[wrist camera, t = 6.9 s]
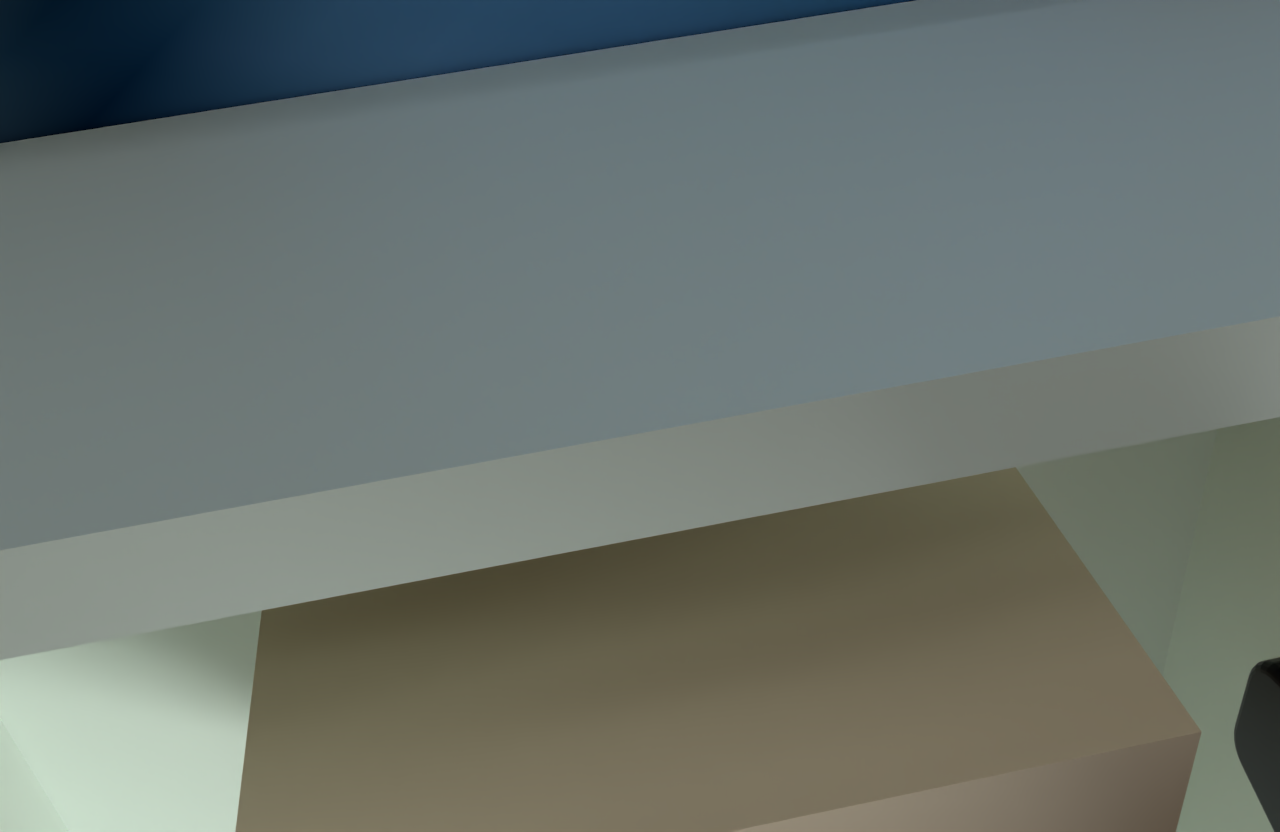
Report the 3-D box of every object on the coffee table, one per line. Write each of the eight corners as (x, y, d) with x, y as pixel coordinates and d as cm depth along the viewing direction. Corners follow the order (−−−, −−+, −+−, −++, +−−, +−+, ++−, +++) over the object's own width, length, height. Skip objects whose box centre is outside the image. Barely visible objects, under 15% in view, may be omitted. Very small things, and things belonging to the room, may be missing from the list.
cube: (873, 678, 13) (1089, 1166, 9) (415, 771, 13) (430, 1324, 9) (881, 275, 10) (1201, 730, 6) (288, 379, 10) (222, 939, 6)
